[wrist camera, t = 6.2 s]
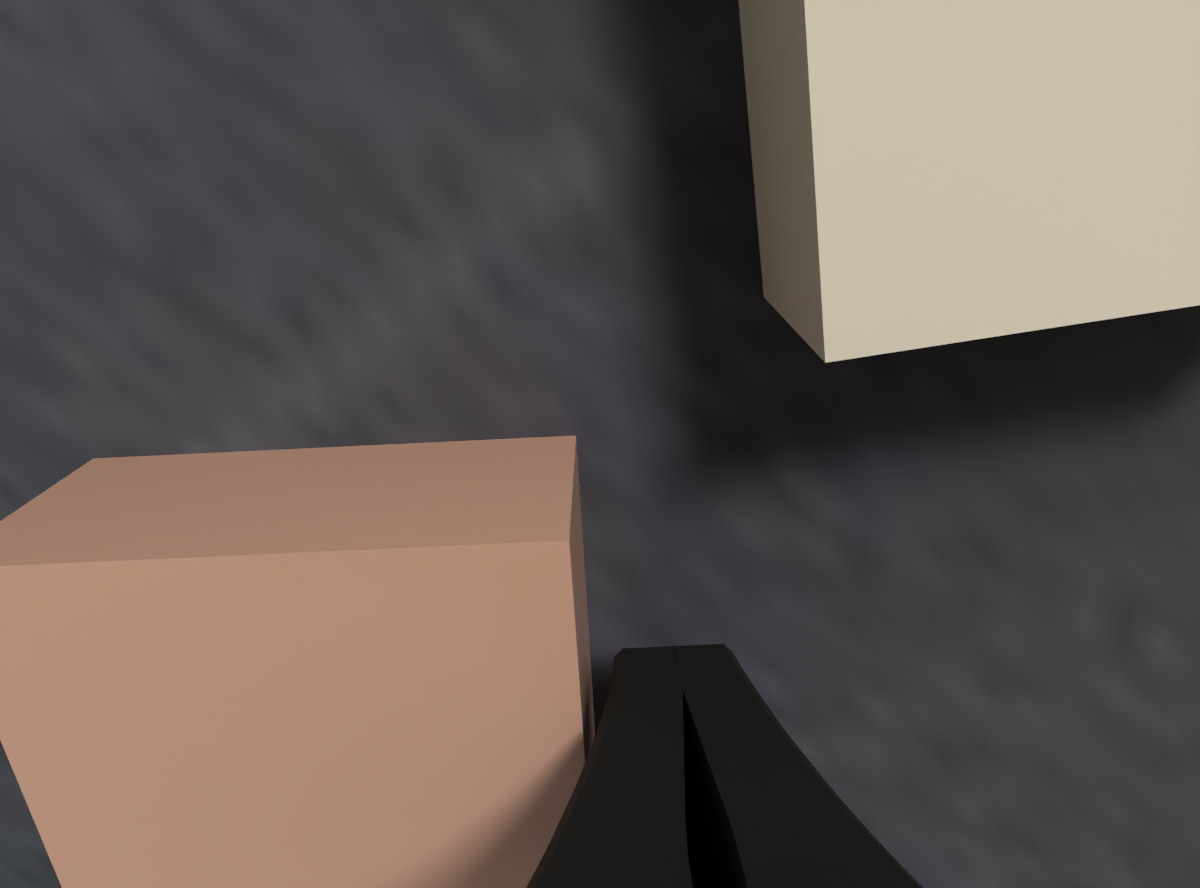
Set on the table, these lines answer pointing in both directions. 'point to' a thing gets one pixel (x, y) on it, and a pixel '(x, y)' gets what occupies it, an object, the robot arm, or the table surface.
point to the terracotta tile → (300, 665)
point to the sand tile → (972, 165)
